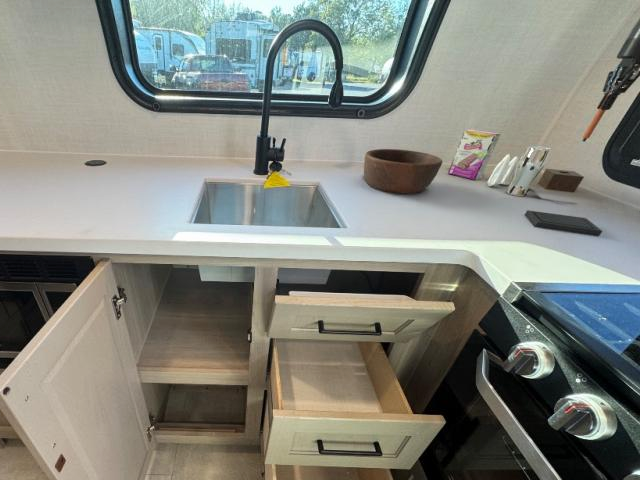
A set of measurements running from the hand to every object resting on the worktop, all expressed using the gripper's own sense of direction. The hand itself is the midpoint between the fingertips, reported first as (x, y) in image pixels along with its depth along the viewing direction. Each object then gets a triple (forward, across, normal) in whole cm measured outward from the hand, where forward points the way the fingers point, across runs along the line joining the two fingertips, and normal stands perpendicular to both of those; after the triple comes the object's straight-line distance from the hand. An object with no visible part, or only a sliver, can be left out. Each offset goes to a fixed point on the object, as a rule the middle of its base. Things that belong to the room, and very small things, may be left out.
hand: (602, 109), depth 98 cm
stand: (+26, 0, 0) cm, 26 cm away
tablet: (+26, -37, +9) cm, 46 cm away
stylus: (+9, 0, 0) cm, 9 cm away
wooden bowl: (+26, -18, +53) cm, 62 cm away
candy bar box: (+26, +10, +27) cm, 39 cm away
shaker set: (+26, +1, +17) cm, 31 cm away
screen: (+26, -37, +9) cm, 46 cm away
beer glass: (+26, -8, +13) cm, 30 cm away
